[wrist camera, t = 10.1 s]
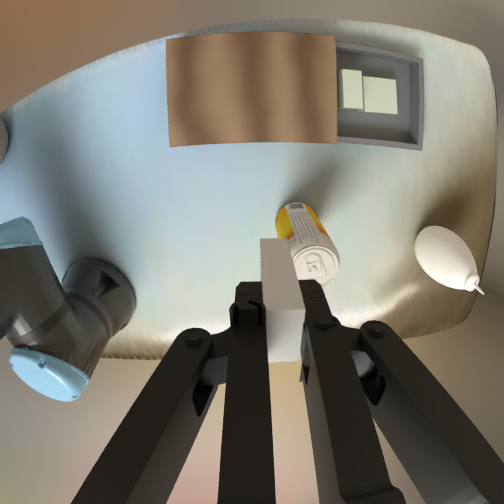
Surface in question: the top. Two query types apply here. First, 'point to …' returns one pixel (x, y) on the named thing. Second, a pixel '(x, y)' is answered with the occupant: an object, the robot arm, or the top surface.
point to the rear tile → (379, 95)
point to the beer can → (308, 243)
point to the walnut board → (251, 88)
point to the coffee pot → (3, 140)
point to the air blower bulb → (446, 258)
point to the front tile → (349, 89)
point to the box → (408, 98)
